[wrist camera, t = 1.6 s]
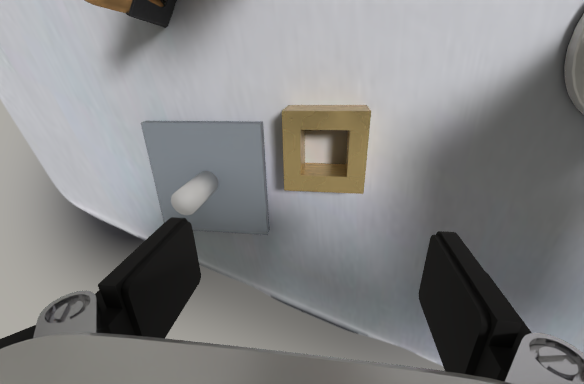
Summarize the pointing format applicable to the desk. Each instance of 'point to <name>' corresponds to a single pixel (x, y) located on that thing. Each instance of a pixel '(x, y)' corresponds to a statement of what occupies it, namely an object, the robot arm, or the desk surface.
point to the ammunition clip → (141, 9)
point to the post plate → (219, 158)
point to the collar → (321, 174)
